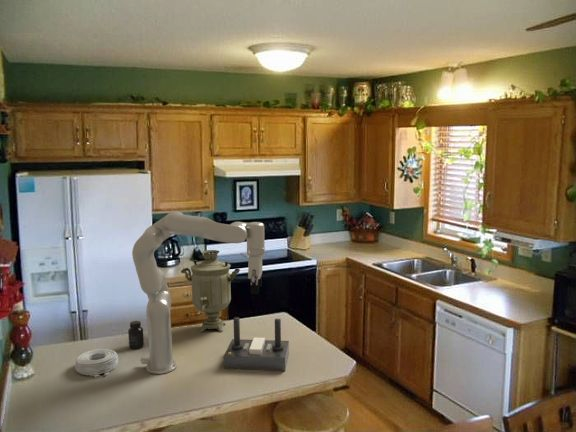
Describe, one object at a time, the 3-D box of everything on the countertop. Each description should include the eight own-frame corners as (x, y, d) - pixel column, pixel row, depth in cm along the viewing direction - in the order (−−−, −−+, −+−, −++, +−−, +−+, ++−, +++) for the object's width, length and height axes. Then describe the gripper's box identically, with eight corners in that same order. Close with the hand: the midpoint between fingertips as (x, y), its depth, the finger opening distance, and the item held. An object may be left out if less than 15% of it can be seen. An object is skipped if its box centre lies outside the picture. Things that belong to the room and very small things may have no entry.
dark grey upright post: (230, 349, 231) (229, 320, 229) (232, 345, 236) (232, 316, 234) (241, 349, 231) (240, 320, 229) (243, 345, 236) (242, 316, 234)
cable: (104, 379, 218) (103, 365, 217) (66, 375, 221) (65, 361, 220) (126, 361, 234) (125, 348, 233) (90, 358, 238) (89, 345, 237)
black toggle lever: (271, 350, 230) (271, 321, 228) (273, 346, 234) (272, 317, 232) (282, 351, 229) (282, 321, 227) (283, 346, 234) (283, 317, 232)
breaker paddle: (249, 364, 227) (249, 349, 226) (254, 352, 240) (254, 337, 239) (261, 365, 227) (260, 349, 226) (265, 352, 240) (265, 337, 238)
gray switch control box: (224, 368, 226) (223, 353, 225) (232, 351, 244) (232, 337, 243) (285, 371, 224) (285, 355, 222) (289, 353, 241) (288, 339, 240)
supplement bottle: (147, 345, 251) (146, 321, 249) (136, 351, 245) (134, 326, 243) (137, 342, 254) (135, 318, 253) (125, 347, 249) (124, 323, 247)
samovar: (169, 334, 264) (166, 256, 258) (198, 317, 288) (195, 245, 282) (222, 343, 253) (219, 261, 247) (247, 325, 277) (245, 249, 271)
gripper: (250, 246, 235) (250, 284, 237) (243, 255, 218) (244, 296, 220) (267, 247, 234) (267, 284, 237) (261, 256, 217) (262, 296, 220)
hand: (256, 290), depth 228 cm, fingers open, 9 cm apart
